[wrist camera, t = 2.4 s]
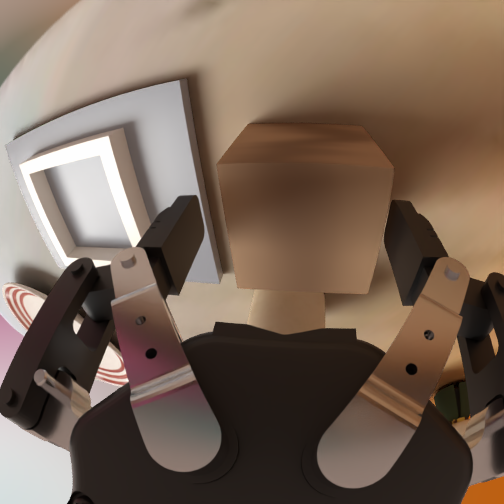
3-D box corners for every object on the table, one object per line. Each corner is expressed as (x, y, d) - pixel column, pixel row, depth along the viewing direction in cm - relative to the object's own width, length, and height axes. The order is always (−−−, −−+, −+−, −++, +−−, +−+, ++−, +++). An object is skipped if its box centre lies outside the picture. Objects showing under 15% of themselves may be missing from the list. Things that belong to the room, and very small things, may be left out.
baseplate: (186, 78, 12) (165, 83, 10) (223, 274, 21) (214, 299, 19) (12, 140, 16) (-8, 153, 14) (64, 261, 24) (51, 277, 22)
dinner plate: (179, 378, 38) (173, 397, 35) (93, 372, 49) (88, 384, 47) (39, 244, 24) (22, 263, 21) (2, 285, 35) (-7, 298, 33)
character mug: (486, 368, 26) (498, 447, 16) (474, 386, 30) (482, 455, 20) (422, 387, 30) (427, 471, 20) (417, 402, 34) (419, 474, 24)
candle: (333, 276, 19) (333, 413, 12) (315, 321, 23) (308, 434, 15) (257, 264, 20) (225, 399, 12) (252, 311, 23) (227, 423, 16)
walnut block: (362, 125, 12) (394, 168, 8) (353, 221, 16) (367, 293, 12) (248, 123, 14) (216, 164, 9) (257, 217, 17) (237, 288, 13)
